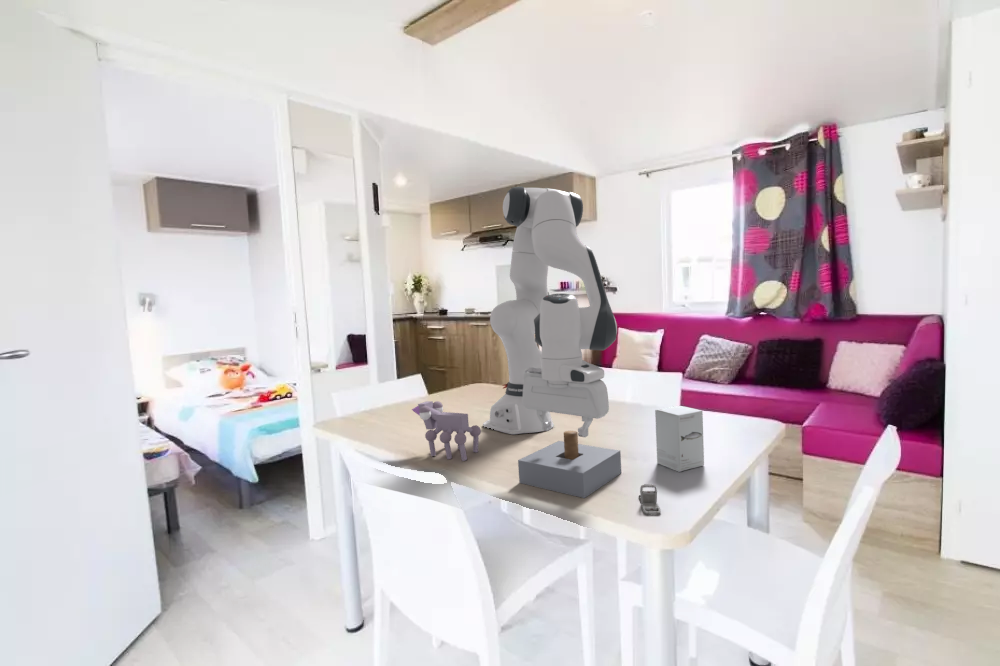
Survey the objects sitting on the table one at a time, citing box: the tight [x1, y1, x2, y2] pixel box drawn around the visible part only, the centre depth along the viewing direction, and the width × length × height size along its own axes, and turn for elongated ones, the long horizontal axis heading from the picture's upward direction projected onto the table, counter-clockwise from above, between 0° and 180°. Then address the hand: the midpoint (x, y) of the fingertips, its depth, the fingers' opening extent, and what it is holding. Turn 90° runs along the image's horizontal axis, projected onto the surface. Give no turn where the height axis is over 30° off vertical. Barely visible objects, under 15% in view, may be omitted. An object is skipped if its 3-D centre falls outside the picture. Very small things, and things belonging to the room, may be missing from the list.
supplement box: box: [654, 405, 705, 473], centre depth 112 cm, size 7×7×13 cm
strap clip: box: [638, 483, 662, 516], centre depth 93 cm, size 8×3×4 cm, turn 172°
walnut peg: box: [563, 430, 579, 460], centre depth 109 cm, size 3×3×10 cm
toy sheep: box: [411, 400, 482, 462], centre depth 133 cm, size 20×11×14 cm, turn 59°
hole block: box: [517, 440, 622, 499], centre depth 109 cm, size 16×16×5 cm
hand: (564, 433), depth 109 cm, fingers open, 8 cm apart
